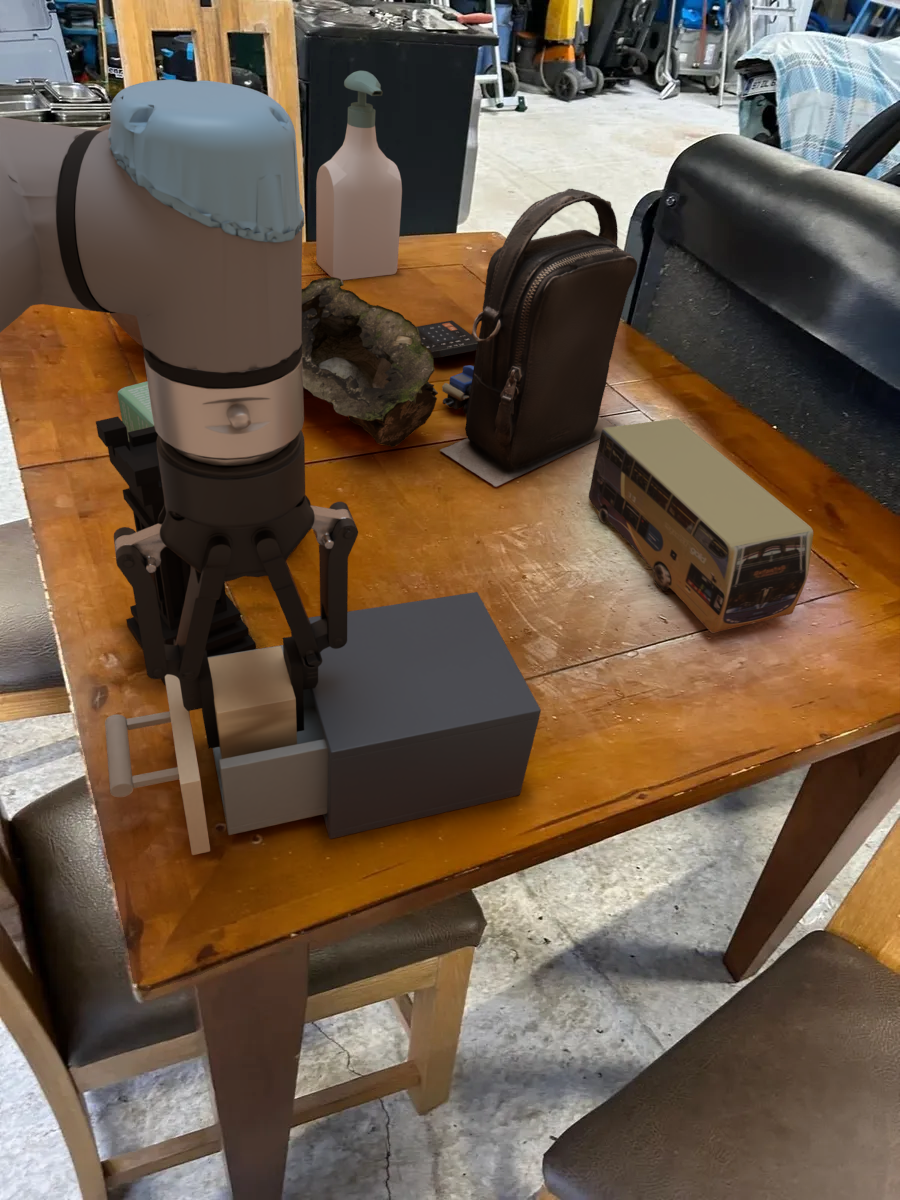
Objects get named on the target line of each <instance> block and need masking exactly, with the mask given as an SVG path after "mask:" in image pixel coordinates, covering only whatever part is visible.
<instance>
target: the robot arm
mask: <svg viewBox="0 0 900 1200" xmlns="http://www.w3.org/2000/svg"><path fill="white" fill-rule="evenodd" d="M109 119H110V120H109V121H110V124H111V127H110V128H109V130H104V131H97V130H95V129H87V128H81V127H72V126H67V125H60V124H53V123H46V122H39V121H31V120H25V119H18V118H10V117H4V116H0V333H2V332H3V331H4V330H5V329H6V328H8V327H9V326H10V325H11V324H13V322H14V321H16V320H17V319H18V318H19V317H21V316H22V315H23V314H24V313H25V312H26V311H27V310H28V309H29V308H31V307H32V306H39V305H40V306H41V305H46V306H52V307H53V306H54V307H59V308H67V309H68V308H69V309H74V310H82V311H89V312H90V311H91V312H97V313H107V314H110V313H116V312H117V313H125V314H130V315H135V316H136V317H137V321H138V325H139V330H140V334H141V338H142V344H143V346H142V353H143V362H144V367H145V373H146V374H145V375H146V380H147V382H148V389H149V395H150V402H151V409H152V416H153V422H154V427H155V431H156V432H157V433H158V436H157V441H156V443H157V452H158V459H159V466H160V473H161V480H162V487H163V494H164V506H163V509H162V511H161V513H160V515H159V517H158V524H156V525H153V526H151V527H148V528H146V529H143V530H141V531H138V532H136V530H134V529H133V528H131V527H129V526H122V527H119V528H117V529H116V530H115V531H114V532H113V543H114V552H115V553H114V554H115V562H116V567H117V568H118V569H119V571H120V572H121V574H122V575H123V576H124V578H125V580H127V582H128V583H129V585H131V586H130V587H132V593H133V597H134V605H136V610H137V616H138V622H139V628H140V634H141V640H142V646H143V650H142V652H143V657H144V658H143V659H144V663H145V670H146V675H147V677H148V678H150V679H152V680H160V679H161V678H163V677H165V676H166V675H174V676H176V677H177V678H178V679H179V681H180V687H181V693H182V699H183V706H184V707H185V709H186V710H187V711H189V712H190V711H197V710H201V713H202V720H203V721H202V722H203V725H204V731H205V738H206V743H207V748H208V749H209V750H210V749H212V748H216V747H220V746H219V738H218V730H217V722H216V713H215V705H214V692H213V683H212V677H211V672H210V667H209V662H208V656H207V651H206V650H205V647H206V643H207V639H208V635H209V630H210V626H211V622H212V618H213V614H214V609H215V605H216V601H217V600H219V598H220V595H221V591H222V587H223V582H225V583H227V582H232V581H234V580H237V579H241V578H243V577H252V578H262V577H267V578H268V580H269V583H270V585H271V587H272V590H273V592H274V593H275V596H276V598H277V600H278V603H279V606H280V608H281V610H282V613H283V615H284V617H285V620H286V622H287V623H286V624H287V625H288V628H289V630H290V633H292V635H293V636H292V637H291V636H286V637H282V645H283V653H284V660H285V663H286V667H287V670H288V674H289V677H290V681H291V685H292V687H293V691H294V694H295V698H296V723H297V732H298V731H303V730H304V702H303V690H305V689H310V688H315V687H316V685H317V684H318V667H319V666H320V665H321V663H322V657H321V654H320V652H321V651H322V650H323V649H325V648H328V647H331V648H334V649H338V648H342V647H343V646H345V644H346V643H347V612H348V605H349V604H348V603H349V602H348V599H349V596H348V595H349V594H348V591H349V590H348V589H349V585H348V584H349V583H348V582H349V556H350V553H351V551H352V549H353V547H354V545H355V543H356V540H357V538H358V536H359V529H358V527H357V525H356V522H355V520H354V517H353V515H352V513H351V511H350V508H349V506H348V504H347V503H346V502H344V501H336V502H333V503H332V504H331V505H330V506H329V507H324V506H323V507H322V506H317V505H312V504H311V501H310V498H309V497H308V496H307V495H306V458H305V457H306V455H305V454H306V453H305V449H306V448H305V445H306V444H305V435H304V432H303V428H304V427H303V426H304V423H305V407H304V405H305V403H304V387H303V367H302V289H303V288H302V287H303V285H302V281H303V280H302V278H303V277H302V276H303V275H302V273H303V272H302V271H303V269H302V268H303V227H304V226H305V212H304V210H303V205H302V203H301V195H300V193H301V192H300V179H299V164H298V152H297V151H298V150H297V137H296V135H297V134H296V130H295V129H296V128H295V125H294V123H293V121H292V118H291V117H290V115H289V114H288V112H287V111H286V109H285V108H284V107H283V106H282V105H281V104H280V103H279V102H278V101H276V100H275V99H273V98H272V97H271V96H269V95H267V94H265V93H263V92H261V91H258V90H256V89H253V88H250V87H246V86H242V85H237V84H233V83H227V82H221V81H214V80H213V81H212V80H197V81H188V80H187V81H186V80H180V79H158V80H157V79H156V80H148V81H143V82H139V83H135V84H132V85H129V86H127V87H125V88H123V89H121V90H120V91H119V92H118V93H117V94H116V95H115V96H114V98H113V99H112V100H111V103H110V107H109ZM311 530H313V534H314V536H315V539H316V542H317V543H318V556H319V557H318V560H319V604H320V605H319V611H320V612H319V613H320V615H319V616H320V617H321V620H319V621H316V622H314V623H312V624H310V621H309V618H310V617H309V616H308V613H307V611H306V608H305V605H304V603H303V600H302V598H301V595H300V592H299V590H298V587H297V585H296V582H295V580H294V577H293V573H292V571H291V569H290V566H289V564H288V561H287V559H289V558H290V556H291V554H292V553H293V552H294V551H295V549H297V547H298V546H299V545H300V543H301V542H302V541H303V539H304V538H306V536H307V535H308V533H309V532H310V531H311ZM165 547H168V548H169V549H171V550H172V551H173V552H174V553H176V554H177V555H178V556H179V557H181V558H182V559H183V560H184V561H186V562H187V563H188V564H189V565H191V572H190V577H189V582H188V587H187V592H186V597H185V601H184V606H183V611H182V616H181V620H180V625H179V630H178V635H177V639H176V641H175V640H174V639H173V640H174V645H167V644H164V641H163V634H162V627H161V620H160V613H159V606H158V599H157V592H156V585H155V579H154V572H155V571H156V570H157V567H158V566H159V565H160V563H161V556H160V552H161V550H162V549H163V548H165Z"/></svg>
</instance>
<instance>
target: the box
mask: <svg viewBox="0 0 900 1200" xmlns="http://www.w3.org/2000/svg"><path fill="white" fill-rule="evenodd" d="M117 398H118V406H119V410H120V412H119V413H120V416H121V421H122V422H123V423H124V424H125V426H126V427H127V433H128V432H131V431H135V430H140V429H144V428H148V427H152V426H154V422H153V416H152V409H151V402H150V395H149V389H148V382H147V381H143V382H140V383H136V384H132V385H128V386H124V387H122V388H120V389H119V390H118V391H117ZM128 440H129V436H128Z"/></svg>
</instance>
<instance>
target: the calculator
mask: <svg viewBox="0 0 900 1200" xmlns="http://www.w3.org/2000/svg"><path fill="white" fill-rule="evenodd" d="M416 327H417V328H418V330H419V336H420V339H421V342H422V344H423V345H424V346H426V347H427V348H428V349H429V350H431V355H432V356H433V359H438V358H443V357H444V358H445V357H449V356H454V355H459V354H464V353H469V352H470V353H471V352H474V351H477V344H478V342H477V341H475V339H474V338H473V336H472V335H471V334H472V333H470V332H468V331H467V330H465V328H463V327H461V326H460V324H457V323H456V322H455V321H454V320H452V319H451V320H447V321H441V322H435V323H429V324H424V325H417V326H416Z"/></svg>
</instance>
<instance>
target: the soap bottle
mask: <svg viewBox="0 0 900 1200" xmlns="http://www.w3.org/2000/svg"><path fill="white" fill-rule="evenodd" d="M343 86H344V87H345V88H346V89H348V90H350V91H356V92H357V101H355V102H351V103H350V106H348V107H347V124H346V131H345V136H344V140H343V143H342V145H341V146H340V148H339V149H338V150H337V151H336V152H335V154H334V155H332V157H331V158H330V159H329V160H327V161H326V162H324V163H323V164H322V165H321V166H320V167H319V169H318V171H317V174H316V185H315V186H316V187H315V191H316V192H315V193H316V197H315V198H316V199H315V200H316V203H315V204H316V205H315V207H316V208H315V209H316V211H315V213H316V215H315V216H316V218H315V219H316V221H315V222H316V223H315V224H316V231H315V233H316V234H315V235H316V237H315V239H316V245H315V246H316V247H315V248H316V250H315V251H316V252H315V253H316V257H315V258H316V260H315V261H316V264H317V265H318V266H319V267H320V268H321V269H322V270H323V271H324V272H325V273H326V274H327V275H328V276H329V277H330V278H331V277H335V278H339V279H340V280H342V281H346V280H347V281H348V280H356V279H365V278H372V277H373V278H374V277H381V276H391V275H395V274H397V272H398V266H399V250H400V249H399V247H400V231H401V218H402V217H401V215H402V202H403V201H402V200H403V198H402V197H403V185H402V177H401V173H400V170H399V168H398V165H397V164H396V163H395V162H394V161H393V160H391V159H390V158H388V157H387V156H386V155H385V153H384V152H383V151H382V150H381V148H380V147H379V144H378V141H377V133H376V132H377V131H376V109H375V108H373V107H374V106H373V104H371V103H367V95H369V96H371V97H376V96H377V97H381V96H383V94H384V92H383V90H382V88H381V87H382V86H381V83H380V81H379V80H378V79H377V78H376V76H375V75H374V74H372V73H371V72H369V71H366V70H357V71H354V72H352V73H350V74H349V75H347V77H346V78H345V79H344V82H343Z"/></svg>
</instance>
